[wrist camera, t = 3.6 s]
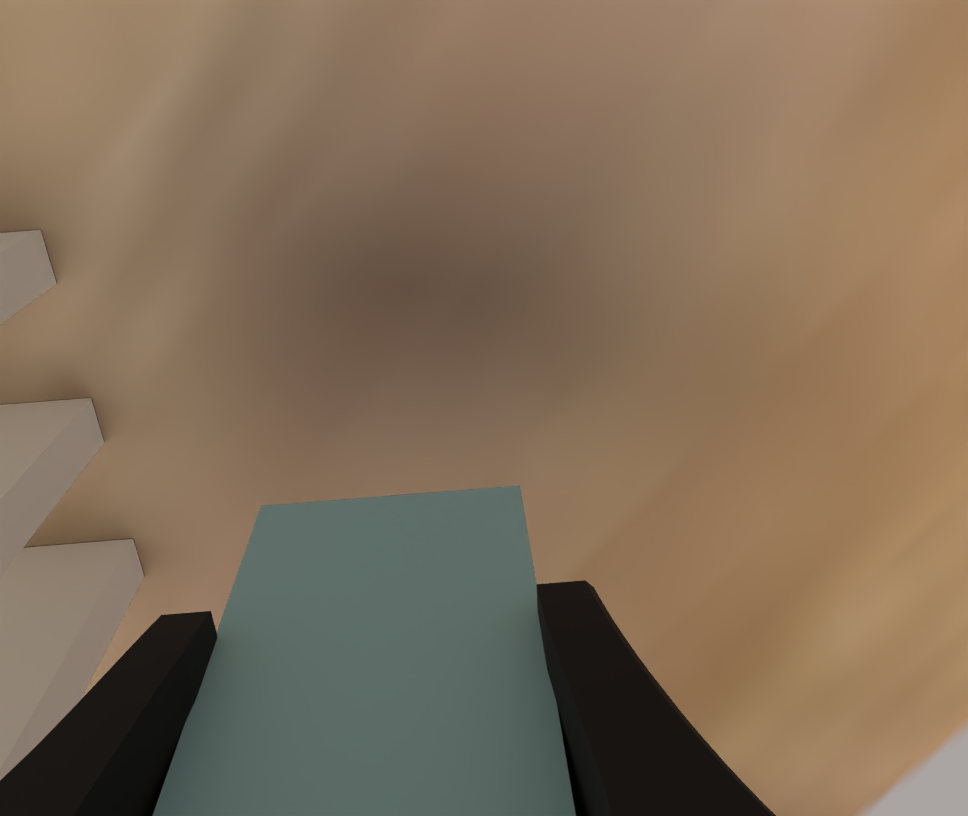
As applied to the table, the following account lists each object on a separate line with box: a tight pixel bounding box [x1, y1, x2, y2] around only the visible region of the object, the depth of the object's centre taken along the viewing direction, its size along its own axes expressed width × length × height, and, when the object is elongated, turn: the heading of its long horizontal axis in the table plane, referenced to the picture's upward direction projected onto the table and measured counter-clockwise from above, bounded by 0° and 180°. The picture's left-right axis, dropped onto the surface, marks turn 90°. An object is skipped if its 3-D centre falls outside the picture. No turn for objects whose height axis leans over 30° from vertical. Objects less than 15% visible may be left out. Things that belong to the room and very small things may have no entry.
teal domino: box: [153, 486, 576, 816], centre depth 9 cm, size 1×4×9 cm, turn 93°
